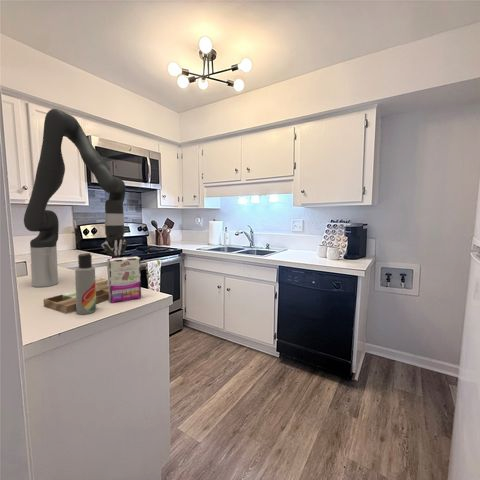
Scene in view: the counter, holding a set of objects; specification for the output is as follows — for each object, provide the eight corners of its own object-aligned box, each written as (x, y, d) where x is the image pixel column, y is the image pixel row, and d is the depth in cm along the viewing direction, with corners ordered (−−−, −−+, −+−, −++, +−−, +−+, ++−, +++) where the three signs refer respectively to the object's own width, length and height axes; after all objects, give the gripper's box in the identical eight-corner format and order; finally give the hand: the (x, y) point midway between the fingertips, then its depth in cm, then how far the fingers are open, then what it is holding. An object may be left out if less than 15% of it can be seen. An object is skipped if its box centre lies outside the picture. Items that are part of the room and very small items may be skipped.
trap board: (43, 306, 90) (43, 299, 90) (100, 289, 110) (100, 284, 110) (66, 313, 85) (66, 306, 84) (122, 295, 104) (122, 289, 104)
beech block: (88, 288, 104) (88, 280, 103) (99, 285, 108) (99, 278, 108) (96, 290, 102) (96, 282, 101) (107, 287, 106) (107, 280, 106)
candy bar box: (137, 295, 105) (137, 255, 104) (141, 298, 101) (141, 257, 100) (107, 299, 99) (107, 258, 97) (110, 303, 95) (109, 260, 93)
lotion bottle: (98, 311, 87) (97, 253, 85) (79, 316, 83) (77, 255, 81) (92, 307, 91) (91, 251, 89) (74, 311, 87) (72, 253, 84)
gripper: (121, 223, 117) (122, 260, 119) (94, 224, 105) (96, 265, 107) (133, 224, 114) (134, 262, 116) (107, 225, 102) (108, 267, 104)
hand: (115, 263), depth 112 cm, fingers closed
